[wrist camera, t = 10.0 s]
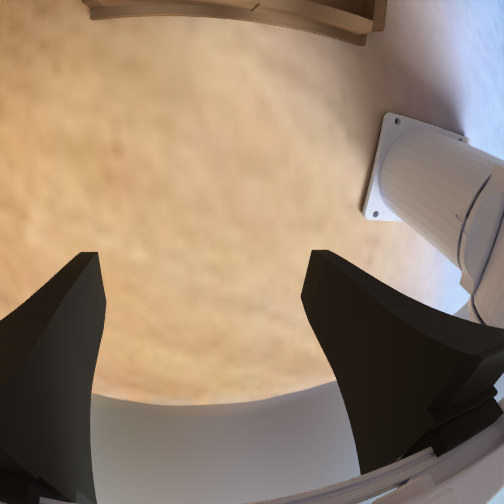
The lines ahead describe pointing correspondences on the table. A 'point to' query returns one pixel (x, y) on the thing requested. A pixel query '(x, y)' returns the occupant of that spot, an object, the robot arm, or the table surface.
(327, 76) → the table surface
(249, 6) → the keyhole track
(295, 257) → the table surface
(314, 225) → the table surface
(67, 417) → the robot arm
